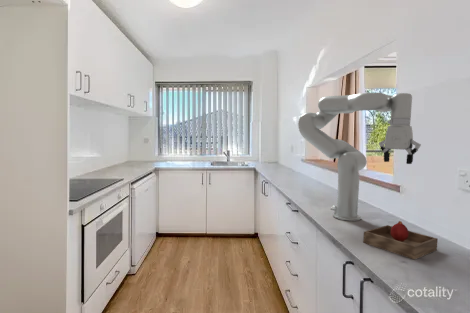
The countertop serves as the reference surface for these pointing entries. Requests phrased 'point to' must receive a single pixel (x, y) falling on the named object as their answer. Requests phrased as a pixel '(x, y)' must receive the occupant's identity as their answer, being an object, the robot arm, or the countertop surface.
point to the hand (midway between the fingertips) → (397, 162)
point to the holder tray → (409, 248)
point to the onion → (399, 232)
